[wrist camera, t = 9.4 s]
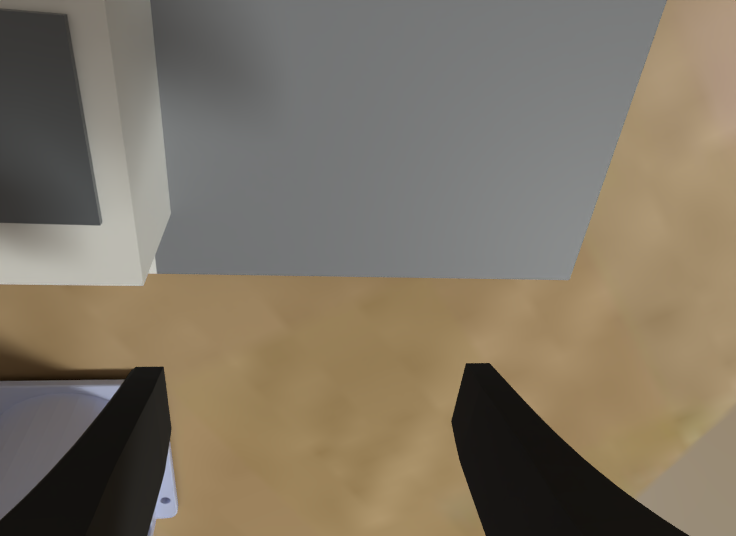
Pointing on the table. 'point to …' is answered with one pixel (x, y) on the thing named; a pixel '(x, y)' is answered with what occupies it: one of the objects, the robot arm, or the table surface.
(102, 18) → the block
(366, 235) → the board
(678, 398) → the table surface
